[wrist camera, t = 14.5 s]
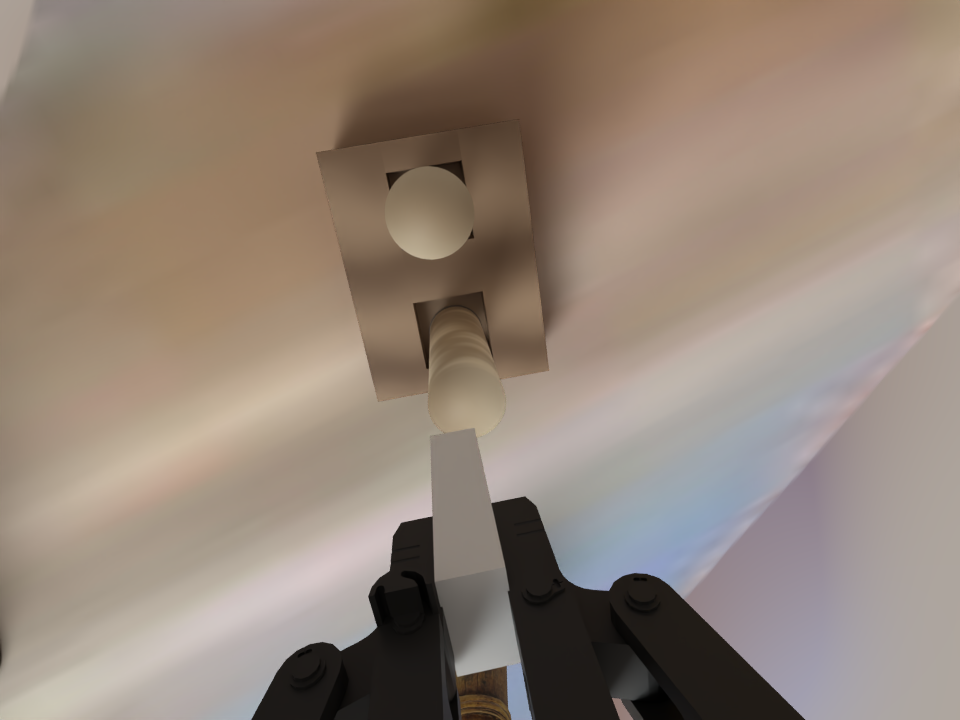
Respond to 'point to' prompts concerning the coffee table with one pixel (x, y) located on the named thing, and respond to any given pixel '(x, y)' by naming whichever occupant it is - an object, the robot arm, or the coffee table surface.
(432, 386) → the beech peg
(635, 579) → the robot arm
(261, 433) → the coffee table surface
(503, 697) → the wooden mug
